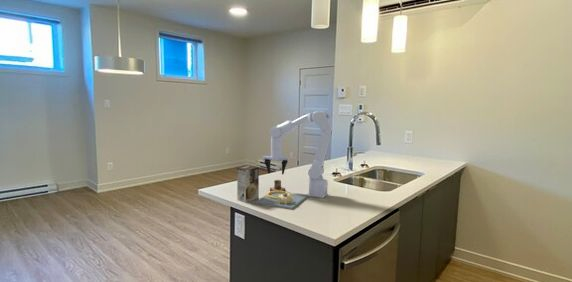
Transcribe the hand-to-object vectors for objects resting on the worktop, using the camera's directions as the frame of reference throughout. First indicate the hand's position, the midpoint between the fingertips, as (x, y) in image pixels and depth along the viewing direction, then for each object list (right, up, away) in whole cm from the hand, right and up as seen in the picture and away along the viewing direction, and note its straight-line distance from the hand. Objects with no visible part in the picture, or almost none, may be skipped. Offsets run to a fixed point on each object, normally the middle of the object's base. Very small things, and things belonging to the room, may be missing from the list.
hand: (276, 173), depth 171 cm
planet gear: (+1, -9, 0) cm, 9 cm away
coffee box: (-13, -11, -15) cm, 23 cm away
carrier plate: (+3, -12, -17) cm, 21 cm away
